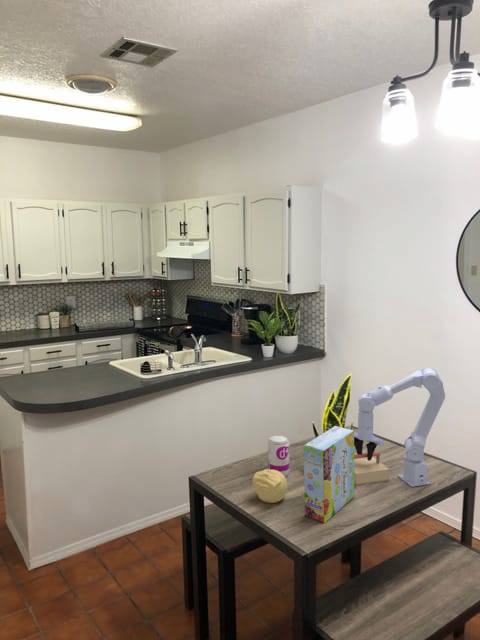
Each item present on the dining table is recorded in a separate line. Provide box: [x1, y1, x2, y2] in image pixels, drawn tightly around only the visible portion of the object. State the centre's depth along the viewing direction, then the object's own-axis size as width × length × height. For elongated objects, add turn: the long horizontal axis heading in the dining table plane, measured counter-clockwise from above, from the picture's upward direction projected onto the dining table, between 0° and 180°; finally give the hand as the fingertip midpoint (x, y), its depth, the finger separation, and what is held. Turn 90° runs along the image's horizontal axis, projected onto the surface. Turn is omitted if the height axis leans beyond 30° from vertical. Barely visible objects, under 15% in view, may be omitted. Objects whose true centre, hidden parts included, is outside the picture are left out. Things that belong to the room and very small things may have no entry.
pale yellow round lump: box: [252, 468, 288, 504], centre depth 183 cm, size 12×12×11 cm
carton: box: [354, 462, 390, 486], centre depth 200 cm, size 12×14×4 cm
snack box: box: [303, 425, 355, 524], centre depth 176 cm, size 22×9×26 cm, turn 141°
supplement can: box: [267, 434, 290, 478], centre depth 202 cm, size 8×8×15 cm
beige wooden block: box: [354, 451, 381, 467], centre depth 202 cm, size 6×14×5 cm, turn 105°
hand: (364, 458), depth 200 cm, fingers open, 4 cm apart
